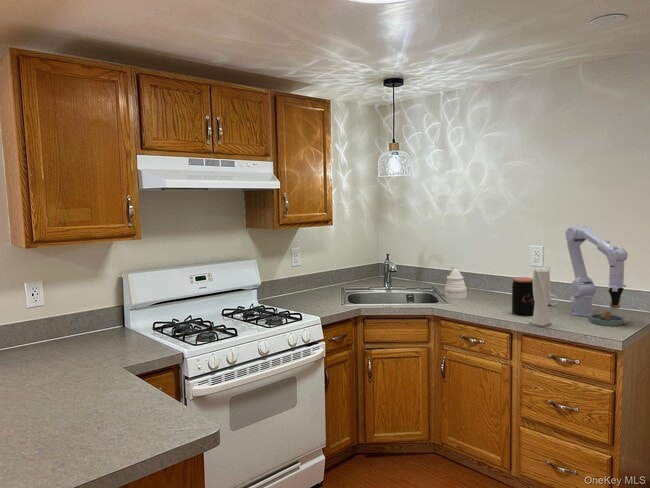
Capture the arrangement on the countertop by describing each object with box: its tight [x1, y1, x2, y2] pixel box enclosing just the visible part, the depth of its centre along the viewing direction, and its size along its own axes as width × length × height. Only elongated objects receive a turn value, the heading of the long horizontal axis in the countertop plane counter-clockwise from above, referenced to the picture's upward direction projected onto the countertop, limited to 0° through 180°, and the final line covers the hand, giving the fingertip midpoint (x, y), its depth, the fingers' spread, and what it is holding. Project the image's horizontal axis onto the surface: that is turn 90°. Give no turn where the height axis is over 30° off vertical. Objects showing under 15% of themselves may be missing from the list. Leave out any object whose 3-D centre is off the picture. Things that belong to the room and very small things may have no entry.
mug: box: [547, 291, 558, 306], centre depth 272 cm, size 12×8×8 cm
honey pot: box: [444, 265, 468, 299], centre depth 301 cm, size 13×13×18 cm
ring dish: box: [588, 313, 625, 327], centre depth 234 cm, size 14×14×2 cm
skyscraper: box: [529, 265, 552, 328], centre depth 232 cm, size 8×8×28 cm
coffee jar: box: [511, 276, 535, 317], centre depth 254 cm, size 11×11×18 cm
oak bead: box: [609, 296, 622, 309], centre depth 231 cm, size 4×4×5 cm
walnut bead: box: [600, 310, 612, 321], centre depth 231 cm, size 4×4×5 cm
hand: (615, 304), depth 231 cm, fingers closed on oak bead, 4 cm apart
